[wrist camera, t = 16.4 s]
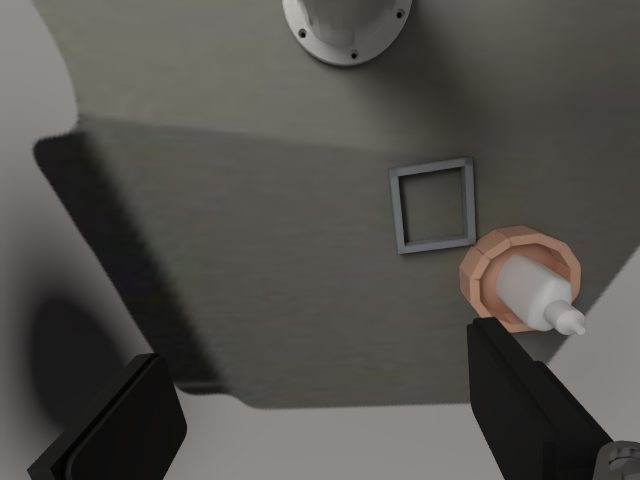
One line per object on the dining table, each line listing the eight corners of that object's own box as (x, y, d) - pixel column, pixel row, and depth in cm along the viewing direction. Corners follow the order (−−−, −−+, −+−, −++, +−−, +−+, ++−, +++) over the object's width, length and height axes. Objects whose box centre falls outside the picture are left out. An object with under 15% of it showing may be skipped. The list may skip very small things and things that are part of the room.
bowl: (457, 233, 39) (468, 242, 36) (561, 219, 38) (582, 227, 35) (462, 321, 43) (472, 336, 39) (558, 310, 41) (577, 325, 38)
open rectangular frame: (387, 168, 38) (389, 169, 36) (467, 156, 37) (472, 157, 36) (396, 250, 40) (398, 254, 39) (471, 240, 40) (475, 244, 38)
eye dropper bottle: (544, 271, 39) (628, 327, 28) (504, 303, 40) (568, 368, 29) (520, 246, 38) (595, 292, 27) (480, 279, 40) (535, 336, 28)
